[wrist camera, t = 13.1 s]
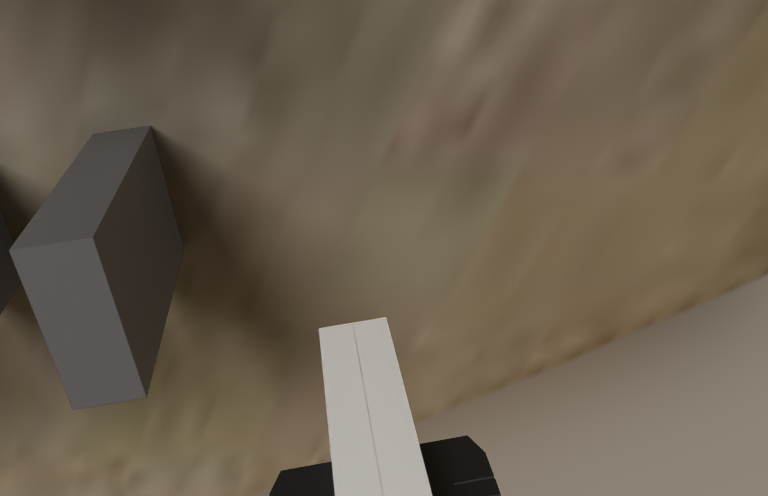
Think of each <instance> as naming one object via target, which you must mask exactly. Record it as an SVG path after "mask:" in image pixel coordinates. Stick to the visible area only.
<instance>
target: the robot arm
mask: <svg viewBox="0 0 768 496" xmlns="http://www.w3.org/2000/svg"><path fill="white" fill-rule="evenodd" d="M319 337H320V347H321V358H322V368H323V378H324V388H325V399H326V409H327V419H328V429H329V440H330V450H331V460H332V462H327V463H322V464H316V465H311V466H305V467H299V468H294V469H288V470H283V471H281V472H280V474H279V476H278V478H277V480H276V482H275V484H274V486H273V488H272V490H271V492H270V496H501V495H500V491H499V488H498V485H497V483H496V480H495V479H494V475H493V472H492V469H491V467H490V464H489V461H488V459H487V456H486V453H485V452H484V451H483V450H482V449H481V448H480V447H479V446H478V445H477V444H476V443H475V442H474V441H473V440H472V439H470V438H469V437H468V436H462V437H456V438H450V439H445V440H440V441H434V442H428V443H423V444H419V442H418V438H417V434H416V431H415V427H414V423H413V419H412V415H411V411H410V407H409V403H408V400H407V396H406V392H405V388H404V384H403V380H402V376H401V373H400V369H399V365H398V361H397V357H396V353H395V350H394V346H393V342H392V338H391V334H390V330H389V326H388V323H387V319H386V317H384V318H378V319H372V320H366V321H360V322H354V323H348V324H342V325H336V326H330V327H324V328H319Z"/></svg>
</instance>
